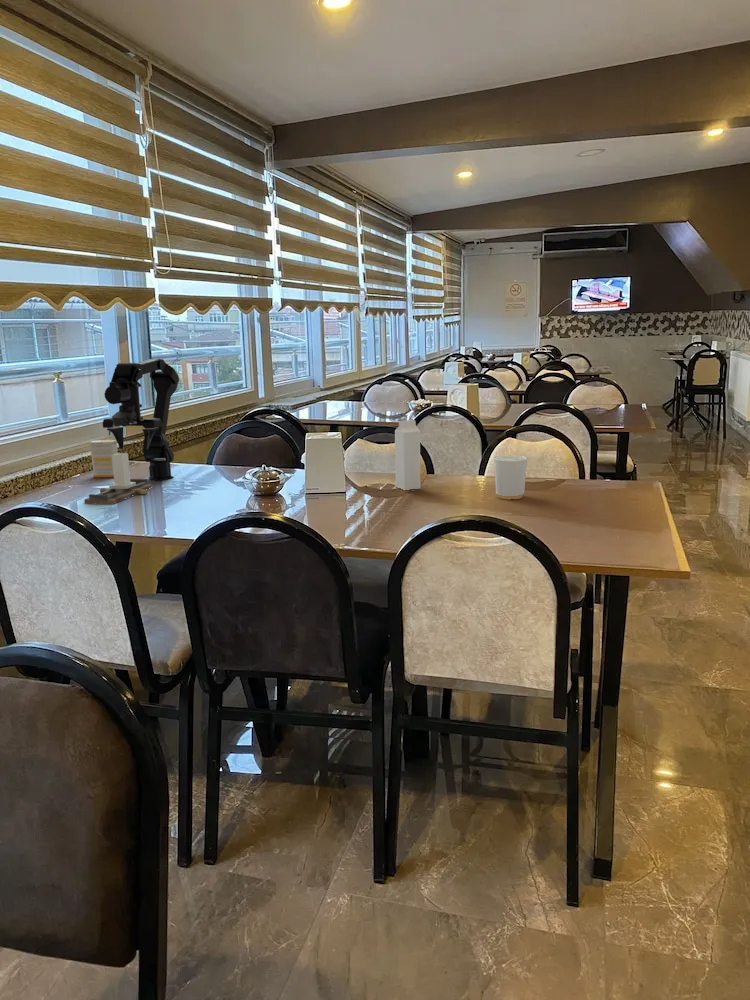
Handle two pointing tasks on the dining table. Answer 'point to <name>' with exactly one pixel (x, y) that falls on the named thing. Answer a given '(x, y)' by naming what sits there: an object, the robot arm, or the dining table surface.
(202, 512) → the dining table surface
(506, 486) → the candle holder
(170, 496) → the dining table surface
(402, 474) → the milk
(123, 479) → the white upright block
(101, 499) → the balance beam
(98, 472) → the supplement box
